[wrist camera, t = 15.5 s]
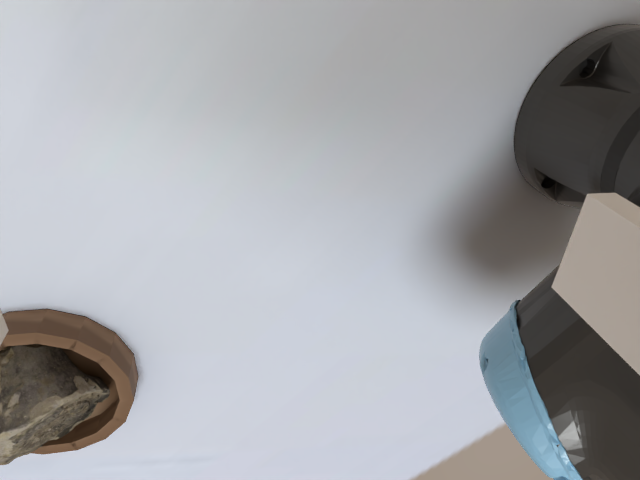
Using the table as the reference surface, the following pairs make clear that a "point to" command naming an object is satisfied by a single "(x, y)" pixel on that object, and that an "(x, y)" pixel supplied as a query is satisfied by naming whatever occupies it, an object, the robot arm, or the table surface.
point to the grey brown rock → (42, 397)
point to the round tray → (81, 367)
